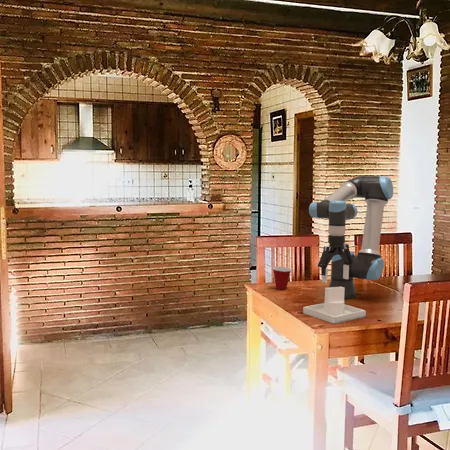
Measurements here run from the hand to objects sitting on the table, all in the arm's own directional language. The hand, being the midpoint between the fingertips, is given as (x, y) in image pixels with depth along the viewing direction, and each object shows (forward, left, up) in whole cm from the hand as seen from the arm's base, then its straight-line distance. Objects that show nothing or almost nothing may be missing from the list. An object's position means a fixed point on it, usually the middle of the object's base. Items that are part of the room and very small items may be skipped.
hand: (335, 280), depth 242 cm
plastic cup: (-13, -53, -16) cm, 57 cm away
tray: (0, 0, -16) cm, 16 cm away
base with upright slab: (0, 0, -16) cm, 16 cm away
